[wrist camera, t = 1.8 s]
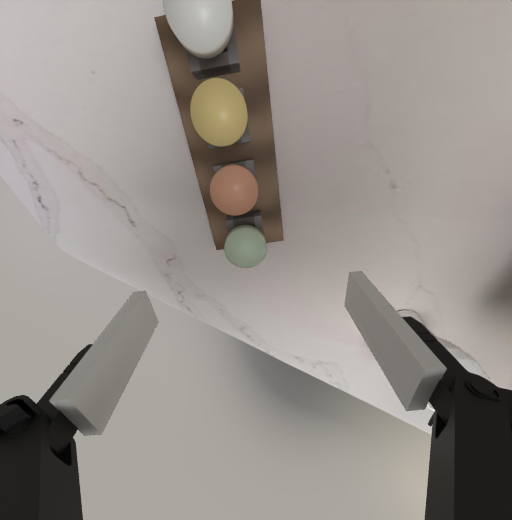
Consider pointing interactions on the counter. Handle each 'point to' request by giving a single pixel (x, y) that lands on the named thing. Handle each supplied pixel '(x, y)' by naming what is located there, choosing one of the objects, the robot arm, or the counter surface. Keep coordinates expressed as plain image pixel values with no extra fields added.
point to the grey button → (201, 24)
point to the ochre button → (219, 112)
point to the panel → (258, 124)
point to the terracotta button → (234, 190)
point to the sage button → (245, 246)
